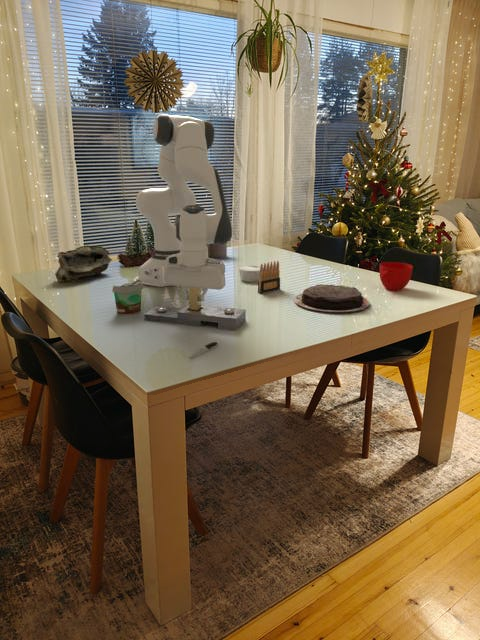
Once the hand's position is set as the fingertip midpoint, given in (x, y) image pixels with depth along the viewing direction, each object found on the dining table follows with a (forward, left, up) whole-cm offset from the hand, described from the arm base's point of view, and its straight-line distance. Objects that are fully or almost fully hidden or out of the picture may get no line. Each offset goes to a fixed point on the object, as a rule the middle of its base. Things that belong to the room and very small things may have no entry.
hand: (195, 300), depth 162 cm
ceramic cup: (+61, +63, -7) cm, 88 cm away
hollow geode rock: (-68, +39, -7) cm, 79 cm away
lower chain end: (-6, 0, -7) cm, 9 cm away
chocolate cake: (+40, +36, -8) cm, 54 cm away
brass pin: (0, 0, -3) cm, 3 cm away
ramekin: (+2, +60, -7) cm, 60 cm away
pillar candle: (-29, +102, -7) cm, 106 cm away
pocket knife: (+13, -25, -8) cm, 29 cm away
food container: (-24, +2, -7) cm, 25 cm away
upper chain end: (+6, 0, -7) cm, 9 cm away
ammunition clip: (+14, +44, -7) cm, 47 cm away
